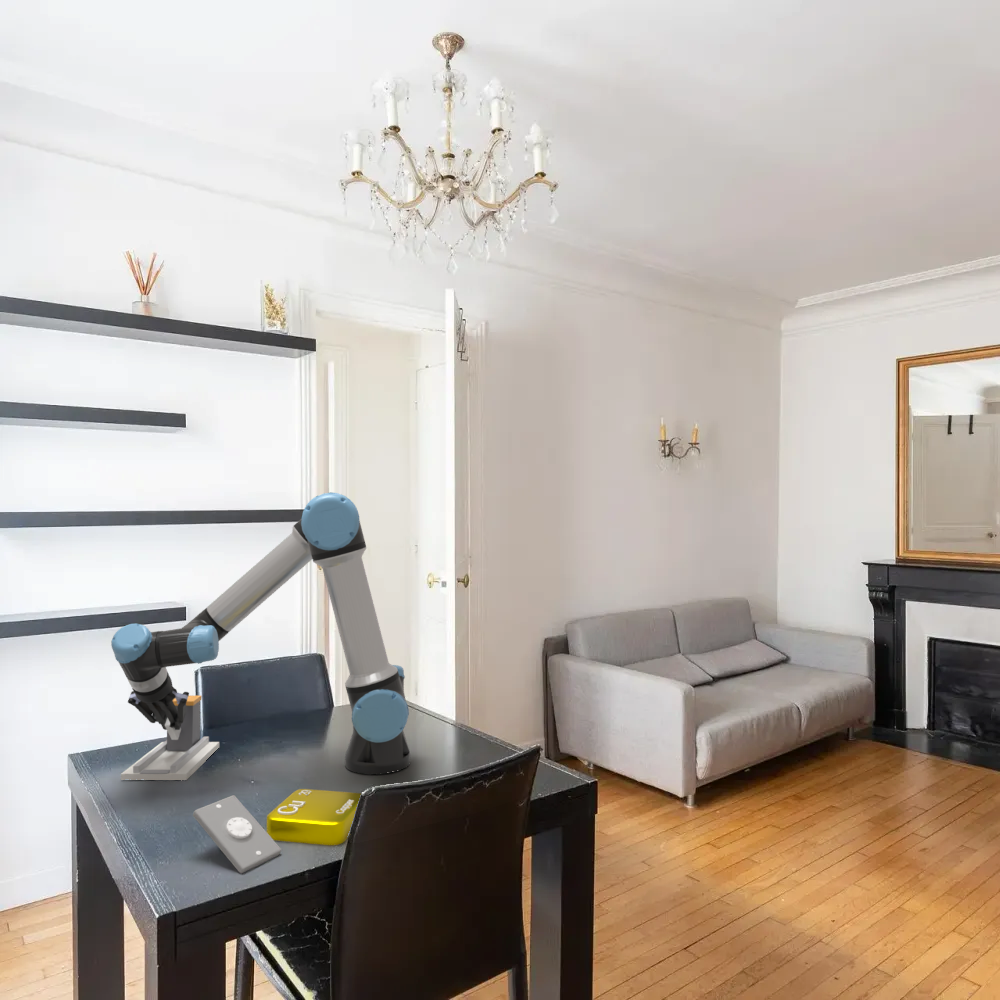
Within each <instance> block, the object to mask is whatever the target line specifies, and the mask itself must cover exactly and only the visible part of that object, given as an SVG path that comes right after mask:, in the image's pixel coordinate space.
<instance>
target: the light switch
mask: <svg viewBox="0 0 1000 1000" xmlns="http://www.w3.org/2000/svg"><path fill="white" fill-rule="evenodd" d="M192 813H193V814H192V817H193V818H194V819H195V820H196V821H197V823H199V825H200V827H202V829H203V830H204V831H205V832H206V834H207V835H208V836H209V837H210V839H211V840H212V841H213V842H214V844H215V845H216V846H217V847H218V848H219V850H221V852H222V853H223V854H224V856H225V857H226V858H227V859H228V860H229V862H230V863H231V864H232V865H233V866H234V868H235V869H236V870H237V872H238V873H239V874H244V873H245V872H248V871H251V870H252V869H254V868H256V867H257V866H260V865H262V864H263V863H264V864H265V862H267V861H269V860H271V859H273V858H275V857H277V856H279V855H281V852H282V848H281V847H280V846H279V845H278V844H277V841H274V840H273V839H272V838H271V837H270V836H269V834H268V833H267V830H265V828H263V826H262V825H261V824H260V823H259V822H258V821H257V819H256V818H255V817H254V816H253V815H252V813H251V812H250V811H249V810H248V809H247V807H245V805H244V804H243V803H242V802H241V801H240V800H239V798H237V797H236V795H235V794H234V795H231V796H228V797H225V798H223V799H220V800H218V801H215V802H213V803H212V802H211V803H210V804H208V805H205V806H202V807H198V808H197V809H195V810H193V812H192Z"/></svg>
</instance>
